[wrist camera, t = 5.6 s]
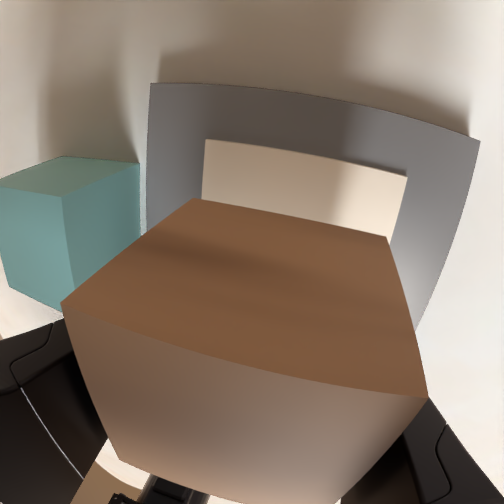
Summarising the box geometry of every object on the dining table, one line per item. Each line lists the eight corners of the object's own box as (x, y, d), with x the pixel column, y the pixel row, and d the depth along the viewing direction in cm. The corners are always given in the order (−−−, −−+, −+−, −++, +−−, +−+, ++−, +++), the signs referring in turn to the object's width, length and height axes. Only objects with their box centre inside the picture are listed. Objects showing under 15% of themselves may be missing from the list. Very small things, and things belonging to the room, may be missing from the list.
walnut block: (335, 375, 10) (318, 517, 5) (190, 340, 11) (119, 460, 6) (386, 236, 8) (428, 398, 3) (193, 197, 8) (60, 302, 4)
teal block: (142, 262, 16) (82, 320, 11) (70, 242, 16) (9, 286, 12) (140, 162, 13) (61, 197, 9) (63, 155, 14) (-13, 184, 10)
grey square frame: (389, 361, 14) (391, 379, 13) (161, 309, 16) (150, 322, 15) (469, 137, 9) (482, 141, 8) (163, 83, 11) (148, 82, 10)
